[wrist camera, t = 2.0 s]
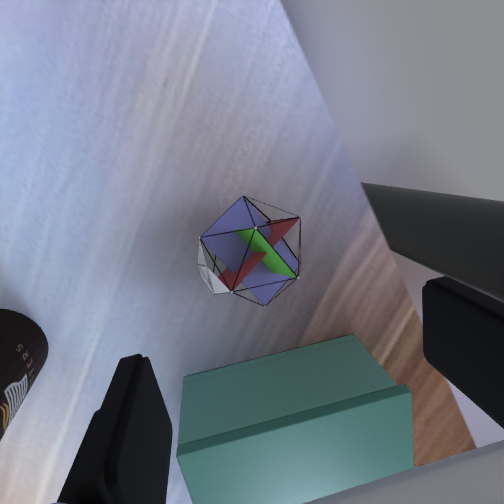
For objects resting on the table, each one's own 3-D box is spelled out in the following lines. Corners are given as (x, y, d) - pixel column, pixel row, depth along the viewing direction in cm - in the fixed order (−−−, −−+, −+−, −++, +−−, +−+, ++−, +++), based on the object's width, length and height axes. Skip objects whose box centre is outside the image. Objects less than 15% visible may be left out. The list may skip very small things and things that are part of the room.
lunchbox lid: (404, 383, 22) (411, 391, 21) (410, 506, 26) (416, 517, 25) (176, 445, 20) (175, 456, 20) (218, 566, 24) (218, 579, 23)
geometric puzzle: (279, 161, 21) (233, 226, 15) (335, 235, 23) (313, 317, 17) (213, 207, 25) (159, 271, 20) (265, 266, 28) (229, 339, 22)
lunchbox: (353, 333, 28) (397, 384, 22) (364, 438, 32) (404, 508, 26) (183, 376, 27) (176, 444, 20) (215, 480, 31) (218, 565, 24)
